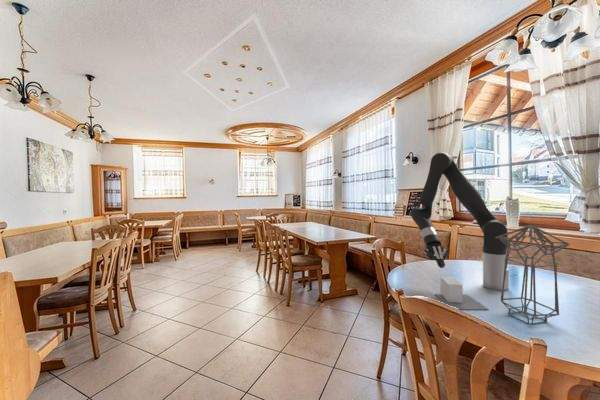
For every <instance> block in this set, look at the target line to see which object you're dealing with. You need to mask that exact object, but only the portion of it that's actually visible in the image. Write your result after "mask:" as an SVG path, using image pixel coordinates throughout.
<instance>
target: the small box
mask: <svg viewBox="0 0 600 400" xmlns="http://www.w3.org/2000/svg"><path fill="white" fill-rule="evenodd" d="M439 282H440V288H439V289H440V290H439V291H440V293H439V294H442V295H443V296H444V297H445V299H446V300H447V301H448V302H457V303H462V294H463V284H462V283H460V282H459V281H458V280H457V279H456V278H455V277H453V276H440V278H439Z"/></svg>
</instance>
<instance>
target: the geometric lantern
mask: <svg viewBox="0 0 600 400" xmlns="http://www.w3.org/2000/svg"><path fill="white" fill-rule="evenodd" d="M527 231H529V232H528V235H526V233H527ZM515 233H516V234H515ZM512 234H514V235H512ZM505 235H512V236H510V237H508V238H507V237H502V236H505ZM533 235H534V236H533ZM547 236H548V237H551V238H554V239H555V240H557V241H552V240H550V239H549V238H548V237H547ZM496 238H498V239H499V240H500V241H502V242H503V243H504V244H505V245H506V246H507V250H506V258H504V259H505V266H504V277H503V286H502V290H501V293H500V302H501V303H502V304H503V305H504V306H505V307H506V308H507V310H508V313H507V314H508V315H509V317H512V318H515V319H516V320H518V321H519V322H520V321H521V322H523V323H525V324H527V325H532V324H533V325H537V324H538V325H539V324H546V323H548V318H552V317H555V316H556V317H557V316H560V307H559V291H558V264H557V261H556V259H555V258H556V257H555V254H557V253H558V252H560V251H562V250H563V249H565V248H567V247H569V246H570V243H568V242H566V241H564V240H562V239H561V238H559V237H557V236H555V235H552V234H551V233H549V232H546V231H545V230H543V229H541V228H539V227H537V226H534V225H526V226H523V227H520V228H518V229H517V228H516V229H515V230H513V231H510V232H508V233H506V234H503V235H500V236H497V237H496ZM526 238H529V243H522V242H523V241H524V240H525V239H526ZM514 239H515V241H513V240H514ZM505 240H506V241H505ZM539 241H540V242H539ZM505 242H506V243H507V244H506V243H505ZM533 242H535V243H536V245H534V244H533ZM546 243H548V244H549V246H547V245H546ZM554 244H558V245H554ZM511 246H513V248H511ZM521 246H523V247H521ZM516 247H518V248H516ZM529 247H534V248H536V247H537V248H538V250H537V251H535V253H533V255H532V256H528V255H527V253H526V252H525V251H524V250H523V249H526V248H529ZM511 251H515V252H516V253H517V254H518V256H509V255H510V253H511ZM519 251H521V252H523V254H524V255H523V256H522V254H521V253H520V252H519ZM548 251H550V252H548ZM539 252H542V253H543V254H542V255H541V256H540V257H539V258H535V256H536V255H537V254H538V253H539ZM550 255H551V256H552V257H551V258H552V262H550V261H548V260H547V261H546V260H544V259H543V260H542V258H543V257H544V256H550ZM514 258H516V259H517V258H519V259H521V260H522V262H523V263H522V262H519V261H516V260H511V259H514ZM528 259H531V263H530V264H528V263H527V262H528ZM534 260H535V262H534ZM509 261H510V262H514V263H517V264H519V265H523V267H524V268H523V276H522V285H521V286H522V288H521V295H520V297H509V298H507V297H506V298H504V295H505V290H504V286H505V278H506V271H507V269H508V264H509V263H508V262H509ZM539 261H540V262H543V263H548V264H550V265H548V264H547V265H536V264H537V263H538V262H539ZM529 267H530V287H529V288H530V289H529V290H530V291H529V292H530V293H529V298H527V297H528V280H529V279H528V276H529ZM540 267H541V268H543V267H553V270H554V272H553V273H554V308H552V307H550V306H547V305H545V304H543V303H540V302H538V301H537V299H536V297H537V296H536V295H537V294H536V268H540ZM508 300H520V302H521V306H517V307H514V306H513V305H512V304H509V303H507V302H505V301H508ZM527 301H528V302H527ZM531 302H533V309H531V308H529V305H530V303H531ZM537 305H540V306H542V307H545V308H546V309H549V310H551V312H549V313H545V314H544V313H541V312H539V311H537ZM520 308H521V310H520ZM513 309H514V310H513ZM515 310H516V311H515ZM527 310H530V311H532V312H533V313H529V312H528V311H527ZM511 311H512V312H511ZM513 314H517V315H520V316H522V317H523V318H525V319H527V321H525V320H523V319H521V318H519V317H516V316H514V315H513ZM528 316H532V317H531V318H530V317H528ZM539 319H540V320H542V321H538V322H534V320H539ZM530 320H531V323H530ZM545 322H546V323H545Z"/></svg>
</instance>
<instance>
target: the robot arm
mask: <svg viewBox="0 0 600 400" xmlns="http://www.w3.org/2000/svg"><path fill="white" fill-rule="evenodd" d="M442 176H444V177H445V178H446V180H447V181H448V184H449V186H450V188H451V190H452V193H453V194H454V196H455V197H456V198H457V199H458V201H459V203H460V204H461V205H462V206H463V207H464V208H465V210H466V211H467V212H469V213H470V215H471V216H473V218H474V220H475V221H476V223H477V225H478V226H479V228H480V230H481V232H482V234H483V245H482V286H483V287H485V288H487V289H490V290H494V291H502V286H503V277H504V266H505V259H504V258H506V254H507V250H508V247H507V246H506V245H505V244H504V243H503V242H502V241H500V240H499V239H498V238H496V237H497V236H500V235H503V234H506V233H509V232H508V227H507V226H506V225H505V224H504V223H503V222H501V221H499V220H498V219H497V218H496V217H495V215H493V214H492V213H491V211H490V210H489V209H488V207H487V205H486V203H485V201H484V199H483V197H482V196H481V194H480V193H479V191H478V190H477V188H476V187H475V186H474V185H473V184H472V182H471V181H470V180H469V179H468V178H467V177H466V176H465V175H464V173H462V172H461V170H460V168H459V167H458V166H457V164H456V162H455V159H454V158H453V157H452V155H450V153H447V152H444V151H442V152H438V153H435V154H434V155H433V156H432V157H431V159H430V165H429V170H428V175H427V178H426V181H425V184H424V187H423V189H422V191H421V193H420V197H419V200H418V203H419V204H420V205H422V206H424V207H414V208H412V209H411V212H410V216H411V219H412V220H413V222H414V223H415V225H416V226H417V227H419V230H420V231H419V232H420V234H421V239H422V241H423V242H424V245H425V249H424V250H423V252H422V254H423V255H425V256H426V257H427V258H429V259H430V260H431V261H435V262H436V264H437V266H438V267H439V268H440V269H443V268H445V266H446V264H445V260H446V259H447V256H448V255H449V253H450V251H451V250H450V249H449V248H448V249H446V248H445V247H444V246H443V245H442V242H441V239H440V237H439V235H438V233H437V230H436V229H435V227H434V225H433V222H432V221H431V220H430V219H431V217H432V214H433V213H432V212H433V203H434V200H435V198H436V196H437V193H438V187H439V183H440V182H441V181H440V180H441V178H442ZM508 235H509V234H508ZM508 235H505V236H502V237H507V238H509V237H508ZM505 241H506V240H505ZM505 243H506V242H505ZM506 244H507V243H506ZM509 271H510V270H509V269H508V268H507V271H506V278H505V286H504V291H507V290H510V288H509V286H510V284H509V281H510V279H509V277H510V275H509Z"/></svg>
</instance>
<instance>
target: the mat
mask: <svg viewBox="0 0 600 400" xmlns="http://www.w3.org/2000/svg"><path fill="white" fill-rule="evenodd" d="M434 295H435V297H437V298H438V299H439V300H440V301H441V302H443V303H444V304H445V303H446V304H448V305H450V306H453V307H456V308H458V309H460V310H459V311H489V308H488V307H486V306H485V305H484V304H482V303H481V302H479V301H477V300H476V299H475V298H473V297H472V296H470V295H468V294H466V293H462V303H457V302H448V301H447V300H446V299H445V297H444V296H443V295H442V294H441V293H435V294H434ZM446 304H445V305H446Z"/></svg>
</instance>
